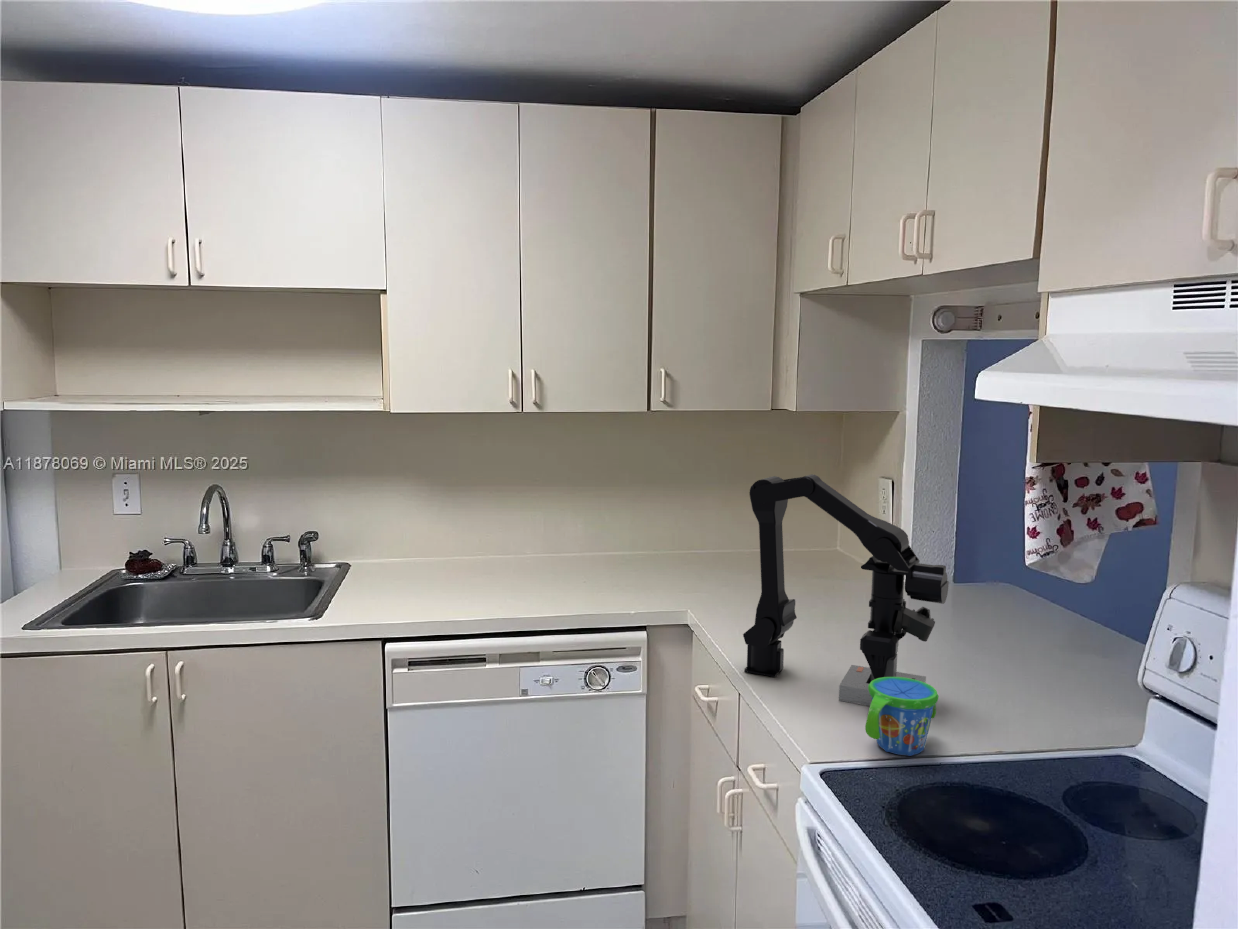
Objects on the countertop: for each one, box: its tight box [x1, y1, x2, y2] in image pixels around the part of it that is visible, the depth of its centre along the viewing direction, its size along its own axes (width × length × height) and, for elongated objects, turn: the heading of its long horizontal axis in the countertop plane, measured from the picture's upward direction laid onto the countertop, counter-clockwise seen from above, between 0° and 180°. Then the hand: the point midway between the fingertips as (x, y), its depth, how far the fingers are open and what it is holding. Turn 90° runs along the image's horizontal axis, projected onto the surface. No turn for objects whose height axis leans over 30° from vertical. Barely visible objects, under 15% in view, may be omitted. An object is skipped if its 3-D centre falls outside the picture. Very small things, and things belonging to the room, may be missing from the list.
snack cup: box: [864, 677, 939, 757], centre depth 138 cm, size 16×10×10 cm
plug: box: [871, 653, 898, 681], centre depth 160 cm, size 4×4×9 cm
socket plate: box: [838, 664, 927, 707], centre depth 160 cm, size 14×12×3 cm
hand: (883, 675), depth 160 cm, fingers open, 9 cm apart
